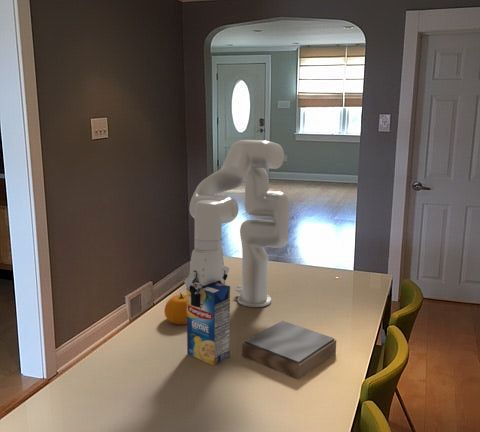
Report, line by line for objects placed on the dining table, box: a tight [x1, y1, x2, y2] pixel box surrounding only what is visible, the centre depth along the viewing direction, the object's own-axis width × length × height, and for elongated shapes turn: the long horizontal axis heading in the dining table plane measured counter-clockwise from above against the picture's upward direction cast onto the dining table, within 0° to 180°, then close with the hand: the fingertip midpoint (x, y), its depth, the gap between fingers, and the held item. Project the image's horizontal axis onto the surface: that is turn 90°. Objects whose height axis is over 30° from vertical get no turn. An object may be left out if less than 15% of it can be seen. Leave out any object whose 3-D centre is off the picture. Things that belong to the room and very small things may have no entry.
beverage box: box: [185, 282, 231, 366], centre depth 150 cm, size 7×11×22 cm, turn 51°
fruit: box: [164, 292, 187, 325], centre depth 176 cm, size 12×12×10 cm
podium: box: [241, 320, 337, 381], centre depth 153 cm, size 20×20×5 cm
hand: (207, 301), depth 148 cm, fingers open, 9 cm apart
